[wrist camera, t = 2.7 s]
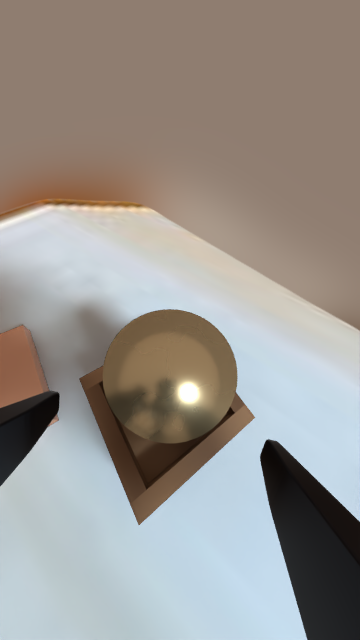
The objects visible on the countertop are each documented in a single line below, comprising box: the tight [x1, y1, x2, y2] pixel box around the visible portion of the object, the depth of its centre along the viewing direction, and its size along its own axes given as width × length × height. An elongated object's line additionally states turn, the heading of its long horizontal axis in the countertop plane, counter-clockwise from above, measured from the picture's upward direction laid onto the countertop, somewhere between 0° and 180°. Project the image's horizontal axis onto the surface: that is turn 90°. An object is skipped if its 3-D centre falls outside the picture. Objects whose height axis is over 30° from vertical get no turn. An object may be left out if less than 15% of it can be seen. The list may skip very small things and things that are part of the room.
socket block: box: [80, 366, 255, 525], centre depth 15 cm, size 9×9×4 cm
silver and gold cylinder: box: [103, 309, 237, 443], centre depth 11 cm, size 5×5×9 cm
